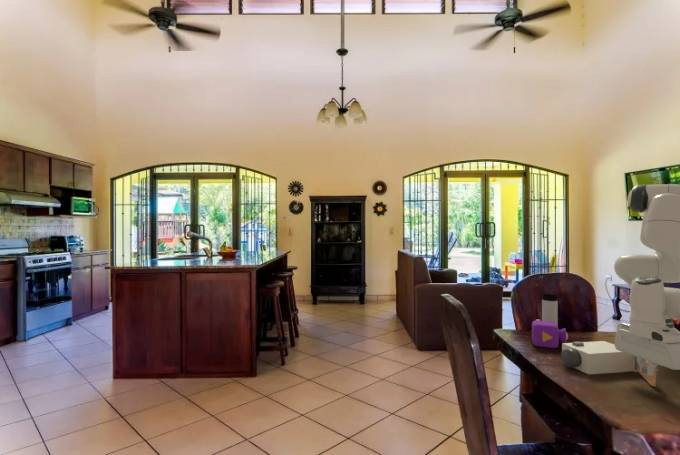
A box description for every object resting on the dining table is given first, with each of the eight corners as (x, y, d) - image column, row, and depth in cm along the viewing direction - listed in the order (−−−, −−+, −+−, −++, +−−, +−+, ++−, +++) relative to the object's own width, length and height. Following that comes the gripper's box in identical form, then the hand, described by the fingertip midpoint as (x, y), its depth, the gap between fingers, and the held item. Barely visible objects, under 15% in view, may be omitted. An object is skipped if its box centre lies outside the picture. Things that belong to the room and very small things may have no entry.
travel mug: (539, 336, 176) (539, 292, 176) (544, 333, 180) (544, 291, 180) (554, 339, 171) (554, 294, 171) (559, 336, 176) (559, 292, 176)
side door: (633, 368, 134) (633, 351, 134) (641, 369, 133) (642, 352, 133) (649, 385, 119) (649, 366, 119) (658, 386, 118) (659, 367, 119)
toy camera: (571, 350, 156) (571, 326, 156) (535, 348, 158) (535, 324, 158) (562, 342, 166) (562, 319, 166) (528, 340, 169) (528, 318, 169)
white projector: (603, 359, 145) (603, 338, 145) (633, 371, 133) (633, 348, 133) (554, 362, 141) (555, 341, 141) (581, 375, 129) (581, 351, 129)
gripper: (609, 321, 130) (609, 362, 130) (671, 339, 109) (671, 387, 109) (625, 321, 131) (625, 361, 131) (689, 338, 111) (689, 386, 111)
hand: (646, 373), depth 120 cm, fingers closed
